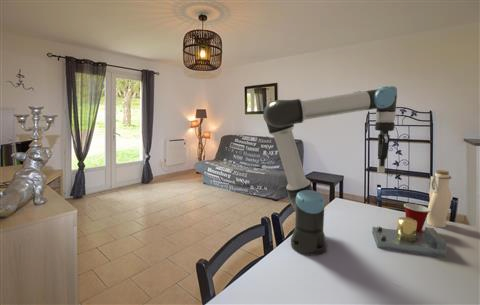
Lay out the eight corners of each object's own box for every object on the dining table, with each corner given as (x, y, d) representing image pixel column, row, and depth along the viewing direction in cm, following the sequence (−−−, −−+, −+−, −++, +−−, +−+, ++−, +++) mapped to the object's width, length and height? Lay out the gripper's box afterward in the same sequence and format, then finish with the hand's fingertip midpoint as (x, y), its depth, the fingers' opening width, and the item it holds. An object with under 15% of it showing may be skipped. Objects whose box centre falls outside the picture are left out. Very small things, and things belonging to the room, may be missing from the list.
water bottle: (440, 230, 124) (447, 174, 119) (420, 223, 132) (426, 170, 127) (451, 225, 128) (458, 171, 124) (431, 219, 136) (437, 168, 132)
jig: (377, 247, 109) (378, 234, 108) (372, 232, 122) (373, 221, 121) (444, 257, 101) (446, 243, 100) (431, 240, 114) (433, 228, 113)
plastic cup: (433, 232, 121) (436, 208, 119) (417, 236, 118) (419, 212, 116) (411, 223, 131) (414, 201, 130) (396, 226, 128) (398, 204, 126)
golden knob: (398, 245, 109) (400, 222, 108) (394, 238, 116) (396, 216, 114) (416, 248, 107) (419, 224, 105) (412, 240, 113) (414, 218, 112)
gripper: (398, 122, 107) (393, 176, 111) (391, 121, 120) (387, 170, 123) (378, 122, 110) (374, 175, 114) (373, 121, 122) (369, 169, 126)
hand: (380, 172), depth 118 cm, fingers closed
